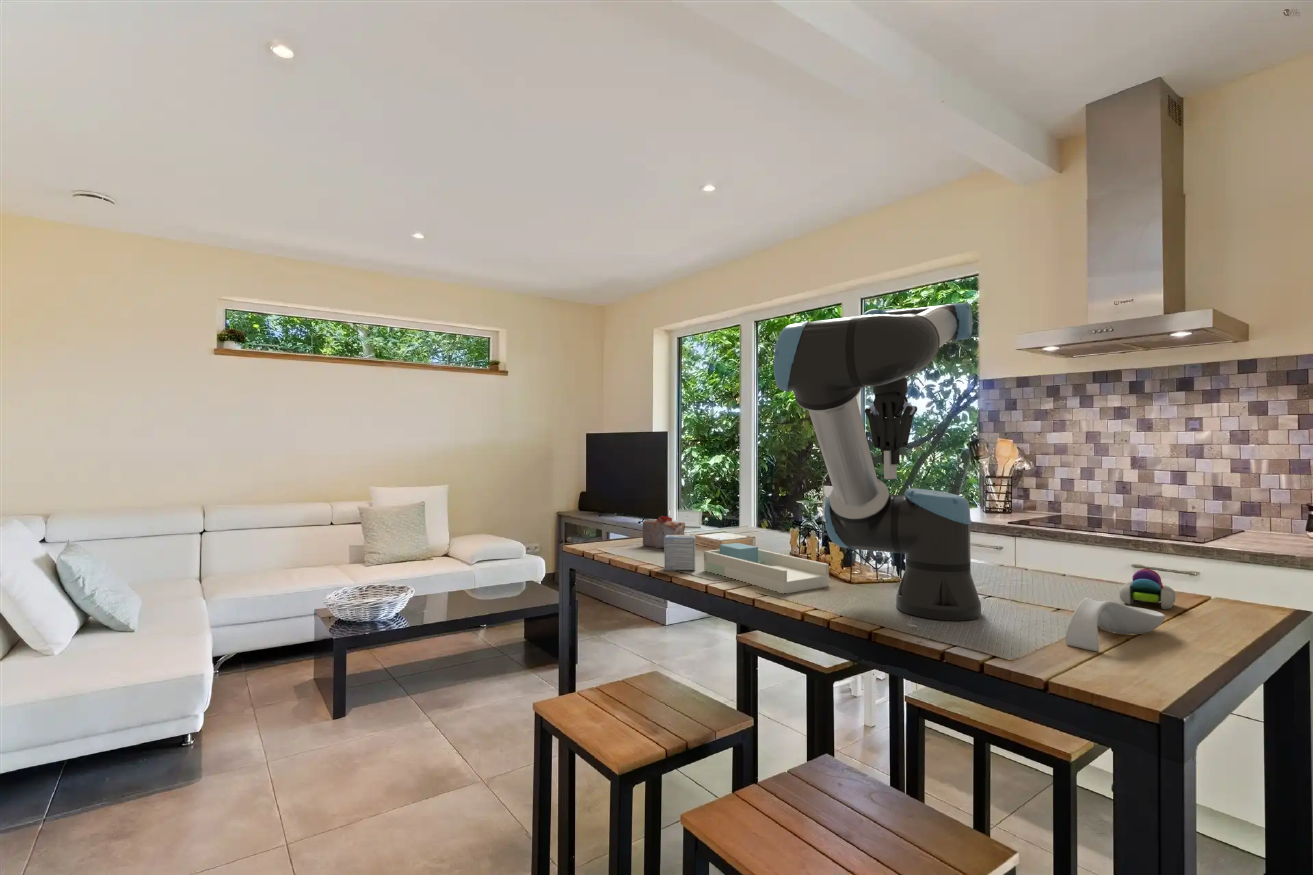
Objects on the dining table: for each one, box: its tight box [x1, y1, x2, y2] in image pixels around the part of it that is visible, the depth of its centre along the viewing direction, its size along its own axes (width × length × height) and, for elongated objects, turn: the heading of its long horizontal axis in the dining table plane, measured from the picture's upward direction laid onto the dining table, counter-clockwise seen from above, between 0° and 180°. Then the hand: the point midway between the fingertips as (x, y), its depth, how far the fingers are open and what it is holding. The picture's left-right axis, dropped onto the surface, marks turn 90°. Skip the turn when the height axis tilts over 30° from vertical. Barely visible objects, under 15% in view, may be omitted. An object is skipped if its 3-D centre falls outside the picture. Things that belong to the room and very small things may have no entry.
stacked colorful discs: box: [1119, 568, 1176, 610], centre depth 127 cm, size 8×10×7 cm
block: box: [719, 542, 759, 563], centre depth 160 cm, size 8×6×4 cm
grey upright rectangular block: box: [663, 534, 696, 572], centre depth 163 cm, size 8×4×9 cm, turn 84°
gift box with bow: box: [642, 515, 686, 549], centre depth 198 cm, size 14×8×10 cm, turn 54°
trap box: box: [703, 548, 830, 595], centre depth 152 cm, size 29×14×5 cm, turn 32°
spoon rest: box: [1064, 597, 1166, 652], centre depth 107 cm, size 24×12×7 cm, turn 127°
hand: (890, 478), depth 146 cm, fingers closed
